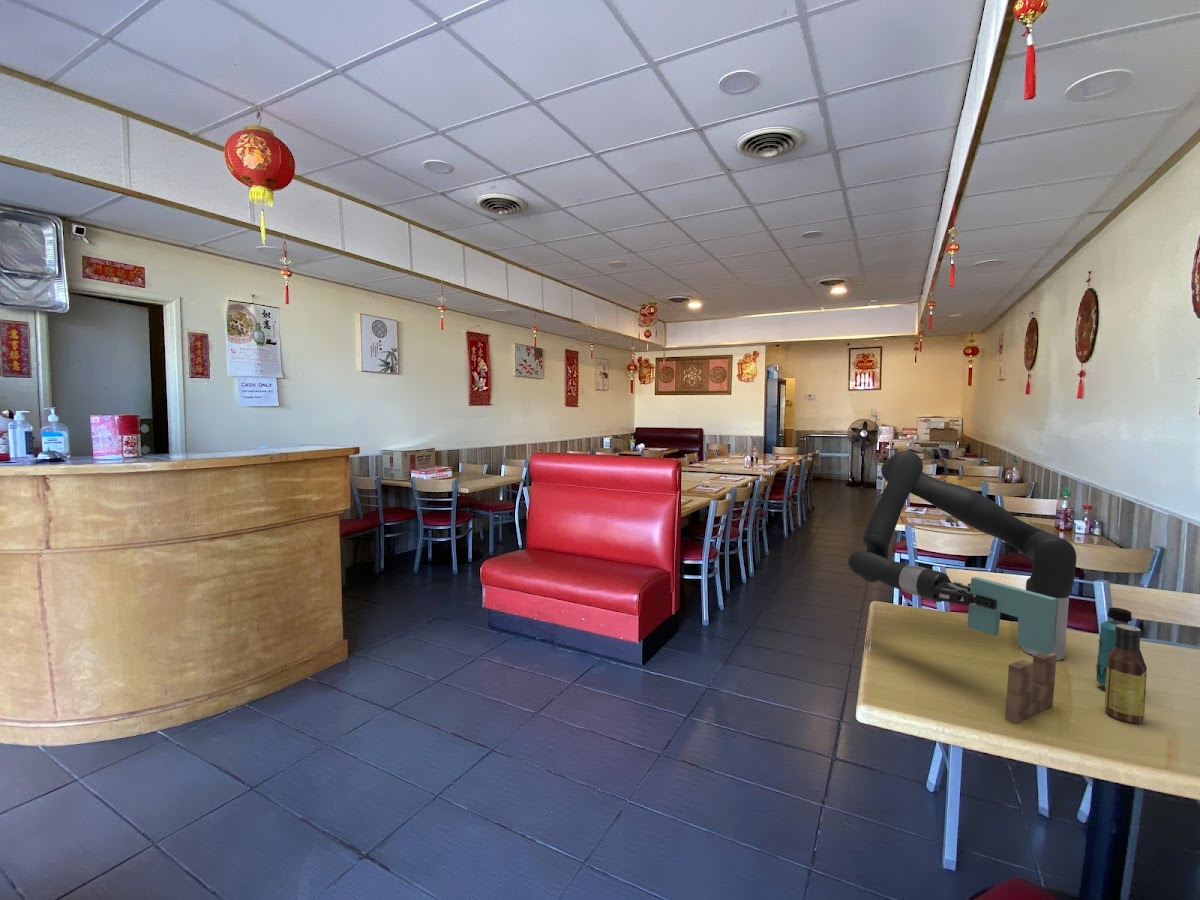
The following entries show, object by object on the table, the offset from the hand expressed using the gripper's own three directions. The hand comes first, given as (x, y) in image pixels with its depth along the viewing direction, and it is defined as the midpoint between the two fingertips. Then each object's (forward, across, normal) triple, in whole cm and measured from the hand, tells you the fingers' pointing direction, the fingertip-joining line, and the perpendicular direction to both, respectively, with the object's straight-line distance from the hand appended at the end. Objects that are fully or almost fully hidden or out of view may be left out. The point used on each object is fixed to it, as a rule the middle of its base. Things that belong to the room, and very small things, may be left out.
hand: (998, 604), depth 124 cm
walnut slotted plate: (+7, 0, +22) cm, 23 cm away
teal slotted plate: (+2, 0, +7) cm, 8 cm away
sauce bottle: (+17, +17, +22) cm, 33 cm away
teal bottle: (+11, +30, +22) cm, 39 cm away
